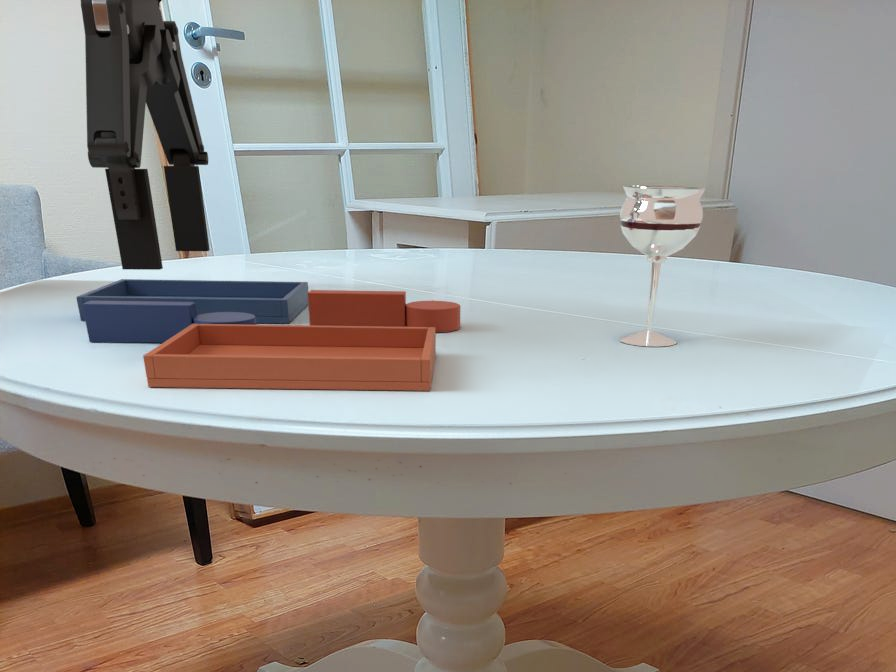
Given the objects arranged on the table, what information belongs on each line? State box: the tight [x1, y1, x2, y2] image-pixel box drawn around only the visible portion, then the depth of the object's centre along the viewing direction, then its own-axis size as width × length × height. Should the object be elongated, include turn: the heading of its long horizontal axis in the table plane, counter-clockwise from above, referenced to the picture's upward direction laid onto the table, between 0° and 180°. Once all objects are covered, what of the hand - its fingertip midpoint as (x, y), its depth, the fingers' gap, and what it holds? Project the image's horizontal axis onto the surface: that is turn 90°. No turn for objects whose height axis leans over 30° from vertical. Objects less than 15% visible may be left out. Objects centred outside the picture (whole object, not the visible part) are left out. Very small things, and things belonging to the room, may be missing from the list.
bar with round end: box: [307, 289, 461, 333], centre depth 81 cm, size 14×5×3 cm, turn 91°
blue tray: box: [75, 278, 310, 325], centre depth 87 cm, size 19×12×2 cm, turn 91°
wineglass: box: [619, 185, 707, 348], centre depth 75 cm, size 7×7×12 cm
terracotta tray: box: [142, 324, 437, 392], centre depth 65 cm, size 19×12×2 cm, turn 91°
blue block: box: [82, 301, 257, 344], centre depth 73 cm, size 14×5×3 cm, turn 91°
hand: (170, 259), depth 71 cm, fingers open, 13 cm apart
